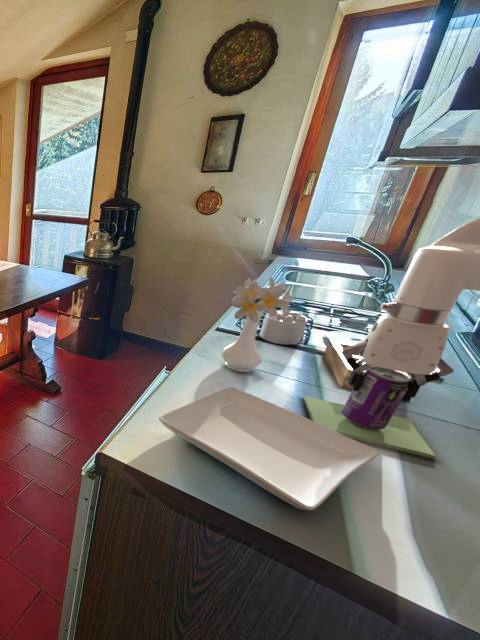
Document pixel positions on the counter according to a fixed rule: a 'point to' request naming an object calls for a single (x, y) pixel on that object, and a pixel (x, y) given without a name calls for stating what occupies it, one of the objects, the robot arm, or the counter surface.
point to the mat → (392, 436)
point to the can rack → (341, 362)
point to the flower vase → (253, 320)
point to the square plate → (270, 445)
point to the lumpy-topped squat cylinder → (284, 327)
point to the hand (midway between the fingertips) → (377, 392)
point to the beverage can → (376, 397)
